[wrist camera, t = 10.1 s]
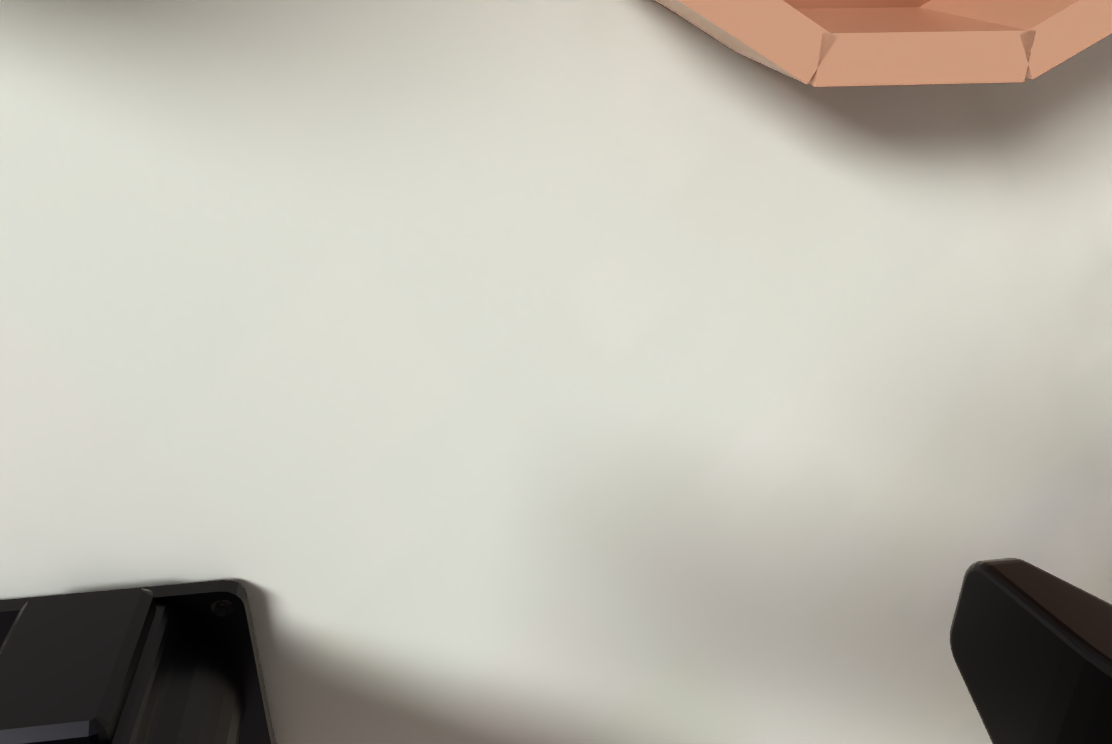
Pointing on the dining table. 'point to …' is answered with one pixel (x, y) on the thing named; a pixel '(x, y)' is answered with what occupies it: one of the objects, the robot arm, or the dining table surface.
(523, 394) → the dining table surface
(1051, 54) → the faceted terracotta bowl
